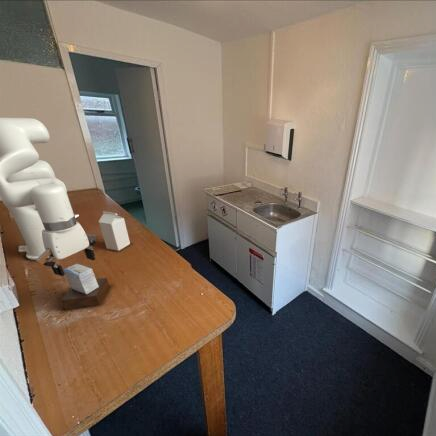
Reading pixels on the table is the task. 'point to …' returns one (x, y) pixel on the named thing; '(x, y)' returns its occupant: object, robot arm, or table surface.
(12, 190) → the robot arm
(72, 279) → the medicine box
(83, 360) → the table surface
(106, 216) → the milk carton
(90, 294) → the walnut block
